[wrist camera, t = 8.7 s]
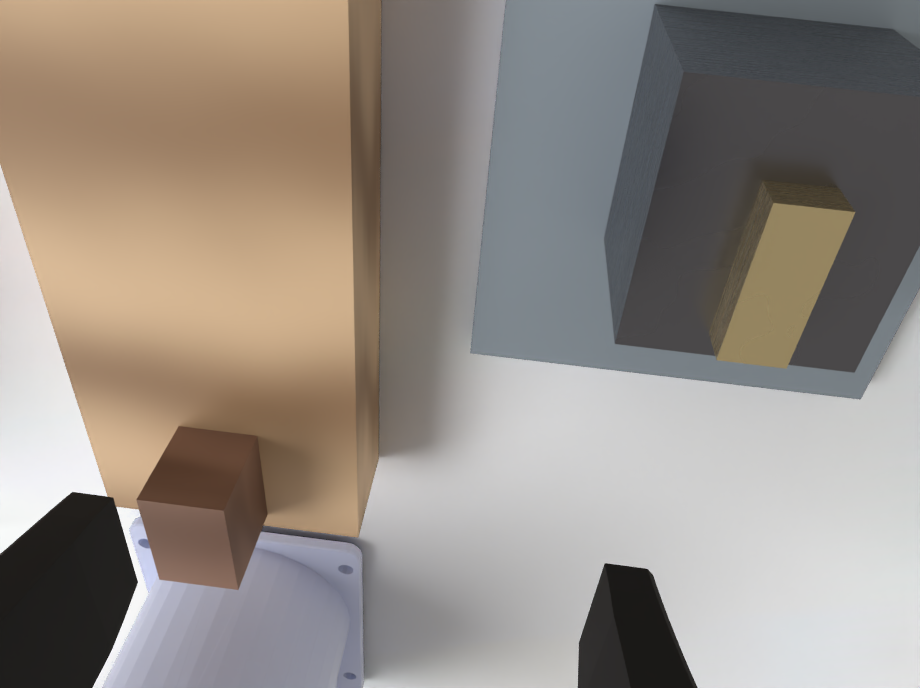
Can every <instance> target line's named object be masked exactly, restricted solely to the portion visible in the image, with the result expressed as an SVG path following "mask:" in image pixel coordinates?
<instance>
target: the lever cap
mask: <svg viewBox="0 0 920 688" xmlns="http://www.w3.org/2000/svg"><path fill="white" fill-rule="evenodd" d="M604 245H605V255H606V264H607V274H608V284H609V293H610V303H611V312H612V322H613V332H614V341H615V344H619V345H627V346H635V347H644V348H652V349H660V350H669V351H677V352H685V353H694V354H702V355H710V356H715V357H716V360H718V361H727V362H735V363H743V364H752V365H760V366H768V367H777V368H785V369H787V366H788V365H794V366H802V367H810V368H819V369H827V370H835V371H844V372H852V373H855V371H856V369H857V367H858V365H859V363H860V361H861V359H862V357H863V355H864V353H865V351H866V350H867V348H868V346H869V344H870V342H871V340H872V338H873V336H874V334H875V332H876V330H877V328H878V326H879V324H880V322H881V320H882V318H883V316H884V315H885V313H886V311H887V309H888V307H889V305H890V303H891V301H892V299H893V297H894V295H895V293H896V291H897V289H898V287H899V285H900V283H901V282H902V280H903V278H904V276H905V274H906V272H907V270H908V268H909V266H910V264H911V262H912V260H913V258H914V256H915V254H916V252H917V250H918V248H919V247H920V49H919V48H917V47H916V46H915V45H913V44H912V43H911V42H910V41H908V40H907V39H906V38H904V37H903V36H902V35H900V34H899V33H898V32H896V31H895V30H894V29H889V28H880V27H870V26H861V25H851V24H841V23H832V22H822V21H813V20H803V19H793V18H784V17H774V16H765V15H755V14H745V13H736V12H726V11H717V10H707V9H697V8H688V7H678V6H669V5H659V4H655V5H654V10H653V15H652V19H651V24H650V28H649V33H648V38H647V42H646V47H645V51H644V56H643V60H642V65H641V70H640V74H639V79H638V83H637V88H636V93H635V97H634V102H633V106H632V111H631V116H630V120H629V125H628V129H627V134H626V138H625V143H624V148H623V152H622V157H621V161H620V166H619V171H618V175H617V180H616V184H615V189H614V194H613V198H612V203H611V207H610V212H609V216H608V221H607V226H606V230H605V235H604Z"/></svg>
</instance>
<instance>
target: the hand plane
mask: <svg viewBox="0 0 920 688" xmlns="http://www.w3.org/2000/svg"><path fill="white" fill-rule="evenodd" d="M380 149H381V0H0V164H1V168H2V171H3V174H4V177H5V180H6V183H7V186H8V189H9V192H10V195H11V198H12V202H13V205H14V208H15V211H16V214H17V217H18V220H19V223H20V226H21V229H22V233H23V236H24V239H25V242H26V245H27V248H28V251H29V254H30V257H31V260H32V263H33V267H34V270H35V273H36V276H37V279H38V282H39V285H40V288H41V291H42V294H43V298H44V301H45V304H46V307H47V310H48V313H49V316H50V319H51V322H52V325H53V328H54V332H55V335H56V338H57V341H58V344H59V347H60V350H61V353H62V356H63V359H64V363H65V366H66V369H67V372H68V375H69V378H70V381H71V384H72V387H73V390H74V393H75V397H76V400H77V403H78V406H79V409H80V412H81V415H82V418H83V421H84V424H85V428H86V431H87V434H88V437H89V440H90V443H91V446H92V449H93V452H94V455H95V458H96V462H97V465H98V468H99V471H100V474H101V477H102V480H103V483H104V486H105V489H106V493H107V496H108V497H113V498H114V502H115V505H116V507H124V508H132V509H139V511H140V514H141V518H142V521H143V525H144V528H145V532H146V535H147V539H148V542H149V546H150V549H151V552H152V556H153V559H154V563H155V566H156V570H157V573H158V577H159V580H165V581H173V582H181V583H188V584H196V585H204V586H211V587H219V588H226V589H234V590H239V587H240V584H241V582H242V579H243V577H244V574H245V572H246V569H247V566H248V564H249V561H250V559H251V556H252V553H253V551H254V548H255V546H256V543H257V541H258V538H259V535H260V533H261V530H262V528H263V525H265V526H272V527H280V528H288V529H296V530H304V531H311V532H319V533H327V534H335V535H343V536H350V537H359V533H360V529H361V525H362V521H363V517H364V513H365V509H366V506H367V502H368V498H369V494H370V490H371V486H372V482H373V478H374V474H375V471H376V467H377V463H378V459H379V306H380Z"/></svg>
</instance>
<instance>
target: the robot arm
mask: <svg viewBox="0 0 920 688" xmlns="http://www.w3.org/2000/svg"><path fill="white" fill-rule="evenodd" d="M129 532H130V535H131V538H132V541H133V544H134V548H135V551H136V554H137V557H138V561H139V564H140V567H141V570H142V574H143V577H144V580H145V583H146V586H147V590H148V593H149V594H148V596H147V598H146V600H145V602H144V604H143V606H142V608H141V610H140V612H139V614H138V616H137V618H136V620H135V622H134V624H133V626H132V628H131V630H130V632H129V634H128V636H127V638H126V640H125V642H124V644H123V646H122V648H121V650H120V652H119V654H118V656H117V658H116V660H115V662H114V664H113V666H112V668H111V670H110V672H109V674H108V676H107V678H106V681H105V683H104V685H103V687H102V688H363V684H364V651H363V581H362V552H361V550H360V549H359V548H358V547H357V546H355V545H354V544H351V543H346V542H338V541H330V540H323V539H315V538H307V537H299V536H291V535H284V534H276V533H268V532H261V533H260V535H259V538H258V541H257V543H256V546H255V548H254V551H253V553H252V556H251V559H250V561H249V564H248V566H247V569H246V572H245V574H244V577H243V579H242V582H241V584H240V587H239V590H234V589H226V588H219V587H211V586H204V585H196V584H188V583H181V582H173V581H165V580H159V577H158V573H157V570H156V566H155V563H154V559H153V556H152V552H151V549H150V546H149V542H148V539H147V535H146V532H145V528H144V525H143V521H142V518H141V517H138V518H136V519H135V520H134V521H133V523H132V524H131V526H130V528H129ZM137 583H138V581H137V578H136V574H135V571H134V567H133V564H132V561H131V557H130V554H129V550H128V547H127V543H126V540H125V536H124V533H123V529H122V526H121V522H120V519H119V515H118V512H117V509H116V505H115V502H114V498H113V497H105V496H98V495H91V494H83V493H76V492H72V493H71V494H70V495H68V496H67V497H66V498H64V499H63V500H62V501H61V502H60V503H59V504H57V505H56V506H55V507H54V508H53V509H52V510H50V511H49V512H48V513H47V514H46V515H45V516H44V517H42V518H41V519H40V520H39V521H38V522H37V523H35V524H34V525H33V526H32V527H31V528H30V529H29V530H27V531H26V532H25V533H24V534H23V535H22V536H21V537H19V538H18V539H17V540H16V541H15V542H14V543H13V544H11V545H10V546H9V547H8V548H7V549H6V550H4V551H3V552H2V553H1V554H0V688H92V687H93V685H94V683H95V681H96V679H97V678H98V676H99V674H100V672H101V670H102V668H103V666H104V664H105V662H106V660H107V658H108V656H109V654H110V652H111V650H112V648H113V645H114V643H115V640H116V638H117V636H118V633H119V631H120V628H121V626H122V623H123V621H124V618H125V615H126V613H127V610H128V607H129V605H130V602H131V599H132V597H133V594H134V591H135V588H136V586H137ZM578 688H697V686H696V684H695V681H694V679H693V677H692V674H691V672H690V670H689V668H688V665H687V663H686V660H685V658H684V656H683V653H682V651H681V648H680V646H679V644H678V641H677V639H676V636H675V634H674V631H673V629H672V626H671V624H670V621H669V619H668V616H667V613H666V611H665V608H664V605H663V603H662V600H661V597H660V594H659V592H658V589H657V586H656V583H655V580H654V577H653V575H652V574H651V572H650V571H649V570H648V569H644V568H636V567H629V566H621V565H614V564H606V563H605V565H604V568H603V571H602V574H601V577H600V580H599V583H598V586H597V589H596V592H595V595H594V598H593V601H592V604H591V608H590V611H589V614H588V617H587V620H586V623H585V626H584V629H583V632H582V635H581V638H580V641H579V666H578Z"/></svg>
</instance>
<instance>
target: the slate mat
mask: <svg viewBox="0 0 920 688" xmlns="http://www.w3.org/2000/svg"><path fill="white" fill-rule="evenodd" d="M655 4H659V5H669V6H678V7H688V8H697V9H707V10H717V11H726V12H736V13H745V14H755V15H765V16H774V17H784V18H793V19H803V20H813V21H822V22H832V23H841V24H851V25H861V26H870V27H880V28H889V29H894V30H895V31H896V32H898V33H899V34H900V35H902V36H903V37H904V38H906V39H907V40H908V41H910V42H911V43H912V44H913V45H915V46H916V47H917V48H919V49H920V0H506V5H505V15H504V25H503V35H502V45H501V54H500V64H499V74H498V84H497V94H496V104H495V114H494V124H493V134H492V144H491V154H490V163H489V173H488V183H487V193H486V203H485V213H484V223H483V233H482V243H481V253H480V263H479V272H478V282H477V292H476V302H475V312H474V322H473V332H472V342H471V352H470V353H473V354H482V355H490V356H499V357H507V358H515V359H524V360H532V361H541V362H549V363H558V364H566V365H575V366H583V367H592V368H600V369H608V370H617V371H625V372H634V373H642V374H651V375H659V376H668V377H676V378H684V379H693V380H701V381H710V382H718V383H727V384H735V385H744V386H752V387H761V388H769V389H777V390H786V391H794V392H803V393H811V394H820V395H828V396H837V397H845V398H853V399H861V398H862V396H863V394H864V392H865V390H866V388H867V386H868V384H869V383H870V381H871V379H872V377H873V375H874V373H875V371H876V369H877V367H878V366H879V364H880V362H881V360H882V358H883V356H884V354H885V352H886V350H887V349H888V347H889V345H890V343H891V341H892V339H893V337H894V335H895V334H896V332H897V330H898V328H899V326H900V324H901V322H902V320H903V318H904V317H905V315H906V313H907V311H908V309H909V307H910V305H911V303H912V302H913V300H914V298H915V296H916V294H917V292H918V290H919V288H920V247H919V248H918V250H917V252H916V254H915V256H914V258H913V260H912V262H911V264H910V266H909V268H908V270H907V272H906V274H905V276H904V278H903V280H902V282H901V283H900V285H899V287H898V289H897V291H896V293H895V295H894V297H893V299H892V301H891V303H890V305H889V307H888V309H887V311H886V313H885V315H884V316H883V318H882V320H881V322H880V324H879V326H878V328H877V330H876V332H875V334H874V336H873V338H872V340H871V342H870V344H869V346H868V348H867V350H866V351H865V353H864V355H863V357H862V359H861V361H860V363H859V365H858V367H857V369H856V371H855V373H852V372H844V371H835V370H827V369H819V368H810V367H802V366H794V365H788V366H787V369H785V368H777V367H768V366H760V365H752V364H743V363H735V362H727V361H718V360H716V357H715V356H710V355H702V354H694V353H685V352H677V351H669V350H660V349H652V348H644V347H635V346H627V345H619V344H615V341H614V332H613V322H612V312H611V303H610V293H609V284H608V274H607V264H606V255H605V245H604V235H605V230H606V226H607V221H608V216H609V212H610V207H611V203H612V198H613V194H614V189H615V184H616V180H617V175H618V171H619V166H620V161H621V157H622V152H623V148H624V143H625V138H626V134H627V129H628V125H629V120H630V116H631V111H632V106H633V102H634V97H635V93H636V88H637V83H638V79H639V74H640V70H641V65H642V60H643V56H644V51H645V47H646V42H647V38H648V33H649V28H650V24H651V19H652V15H653V10H654V5H655Z"/></svg>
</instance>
